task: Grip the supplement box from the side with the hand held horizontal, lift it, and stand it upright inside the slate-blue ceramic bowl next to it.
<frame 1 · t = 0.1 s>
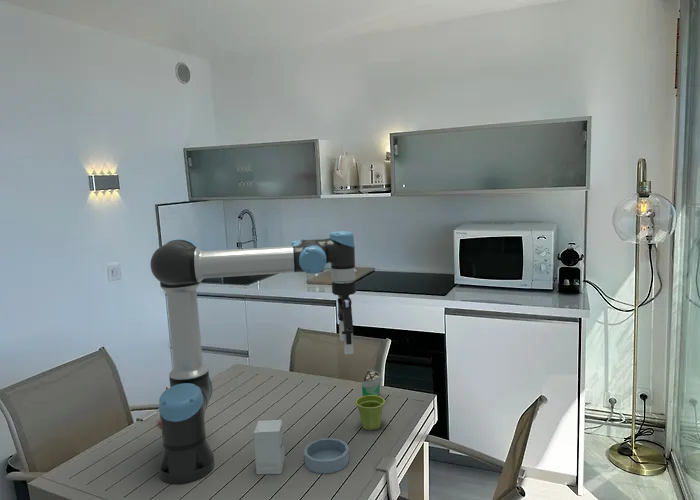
hand: (346, 346, 162), 28 cm above the table, tool pointing down, fingers open, 13 cm apart
plant pot: (371, 426, 168), on the table
food container: (374, 402, 186), on the table
kitchen timer: (181, 421, 178), on the table
supplement box: (271, 467, 146), on the table
bowl: (326, 461, 148), on the table
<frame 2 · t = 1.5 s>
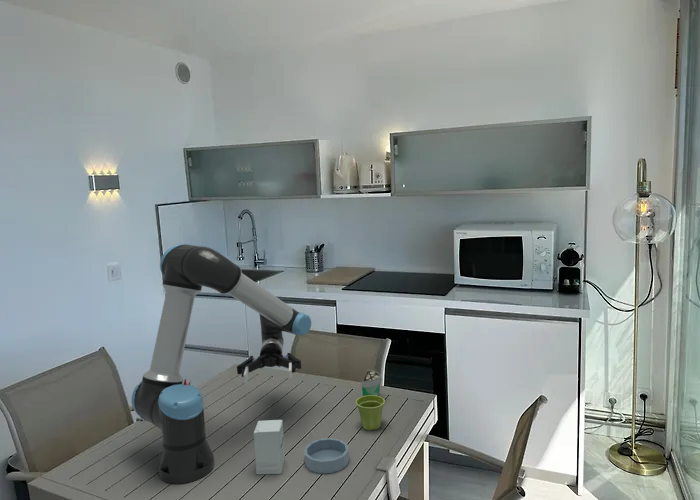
hand: (267, 376, 155), 22 cm above the table, tool horizontal, fingers open, 13 cm apart
nothing on the table moved.
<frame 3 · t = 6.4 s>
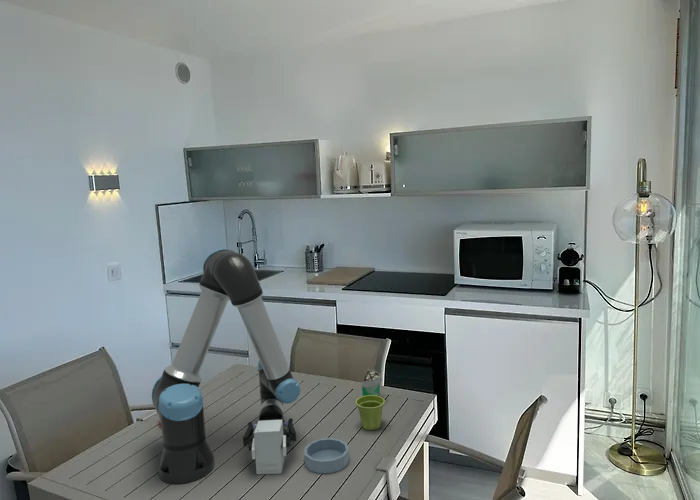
hand: (269, 452, 141), 7 cm above the table, tool horizontal, fingers closed on supplement box, 8 cm apart
supplement box: (271, 467, 146), on the table, touching gripper
everything else where it was.
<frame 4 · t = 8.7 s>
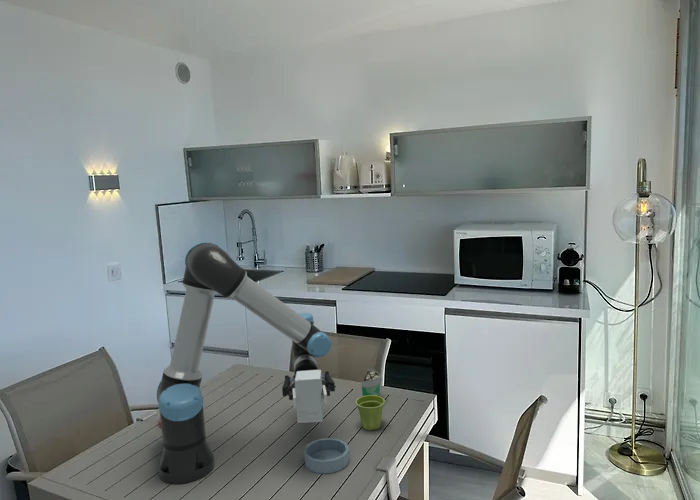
hand: (310, 400, 141), 21 cm above the table, tool horizontal, fingers closed on supplement box, 8 cm apart
supplement box: (311, 417, 147), point 13 cm above the table, touching gripper
everything else where it was.
when the fingers open (9 cm above the table, at t = 11.5 s): supplement box drops 1 cm, resting on bowl.
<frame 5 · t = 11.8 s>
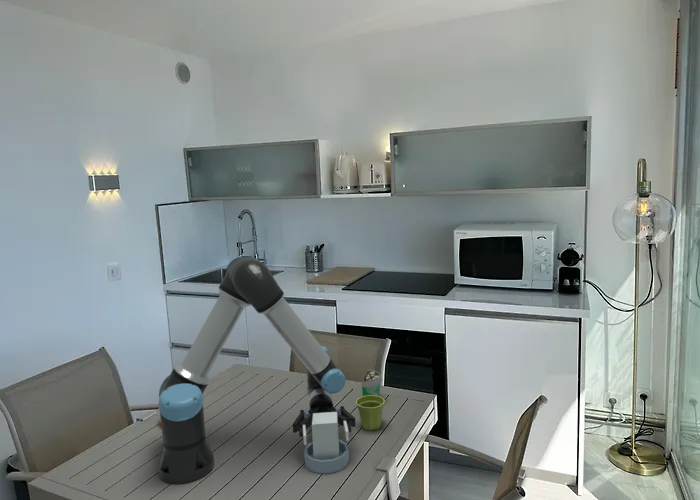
hand: (326, 438, 143), 9 cm above the table, tool horizontal, fingers open, 11 cm apart
supplement box: (327, 459, 148), resting on bowl
everything else where it was.
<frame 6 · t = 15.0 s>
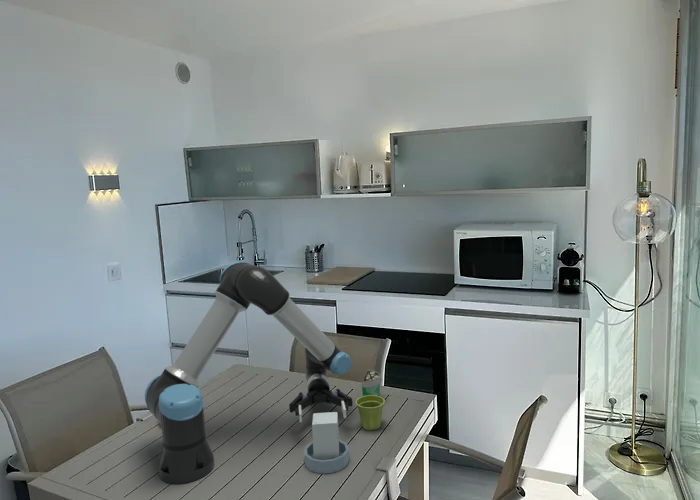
hand: (322, 416, 156), 9 cm above the table, tool horizontal, fingers open, 13 cm apart
nothing on the table moved.
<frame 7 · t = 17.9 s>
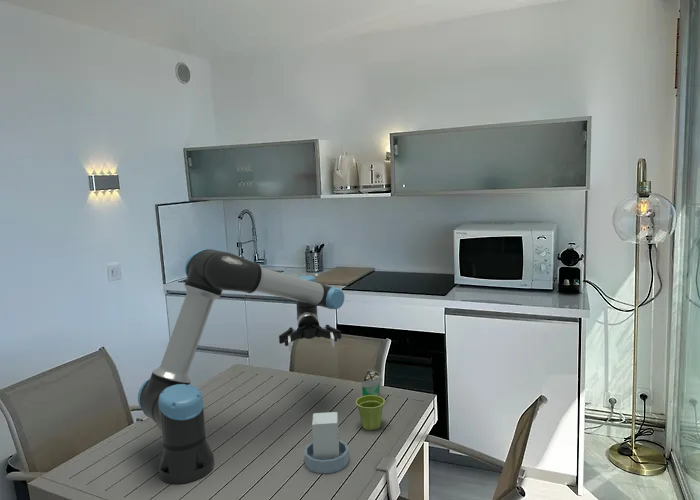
hand: (311, 344, 159), 30 cm above the table, tool horizontal, fingers open, 13 cm apart
nothing on the table moved.
at the end: supplement box 0.1 cm off-centre on the bowl, point 0.4 cm above the bowl's base; supplement box tilted 0°; the gripper is holding nothing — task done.
